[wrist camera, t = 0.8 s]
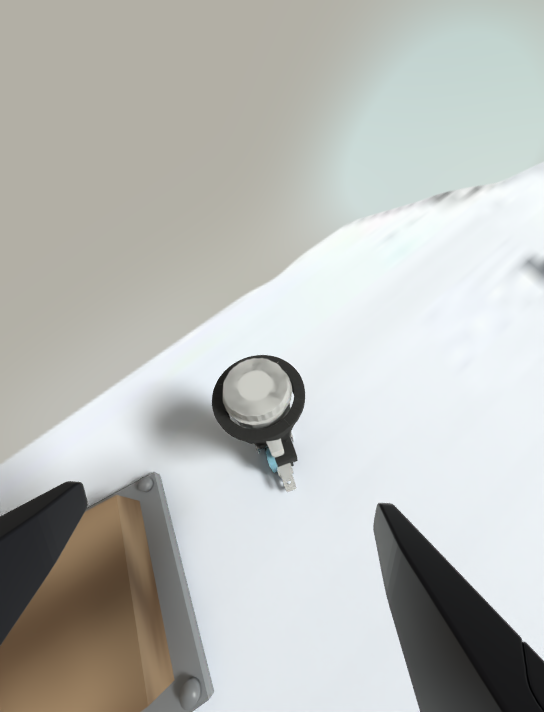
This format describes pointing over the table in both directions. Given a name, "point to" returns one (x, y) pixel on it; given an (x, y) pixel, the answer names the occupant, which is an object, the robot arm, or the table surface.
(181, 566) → the base plate
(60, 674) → the tan flat square block
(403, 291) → the table surface
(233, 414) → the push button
